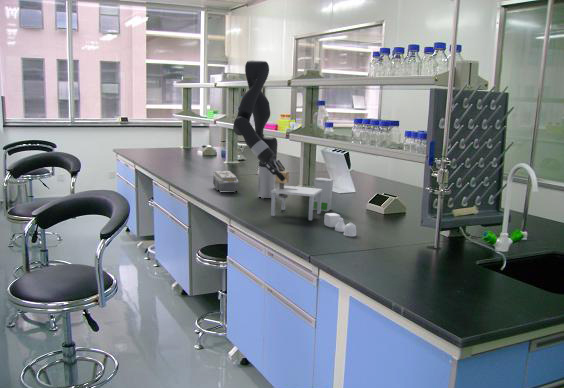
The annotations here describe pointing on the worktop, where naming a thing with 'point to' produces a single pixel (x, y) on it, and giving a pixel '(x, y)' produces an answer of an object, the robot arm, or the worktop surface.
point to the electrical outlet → (225, 181)
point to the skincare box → (323, 193)
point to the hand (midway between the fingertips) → (285, 179)
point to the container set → (339, 224)
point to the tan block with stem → (282, 183)
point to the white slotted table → (297, 191)
